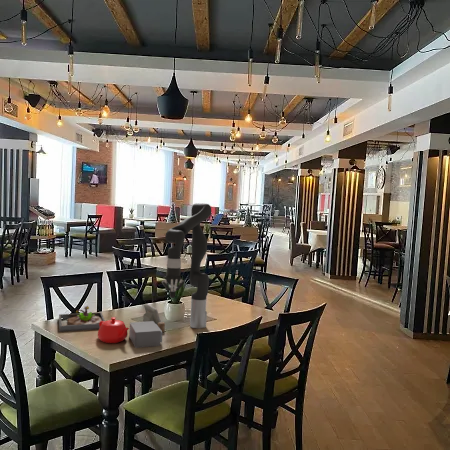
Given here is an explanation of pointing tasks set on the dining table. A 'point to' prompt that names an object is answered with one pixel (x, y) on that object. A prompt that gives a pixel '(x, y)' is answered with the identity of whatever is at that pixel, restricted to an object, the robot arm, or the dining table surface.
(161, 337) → the grey drawer box
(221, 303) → the dining table surface
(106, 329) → the teapot
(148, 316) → the grey tissue
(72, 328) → the rectangular frame
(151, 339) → the housing
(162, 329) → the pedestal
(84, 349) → the dining table surface
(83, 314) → the miniature garden
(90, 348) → the dining table surface
